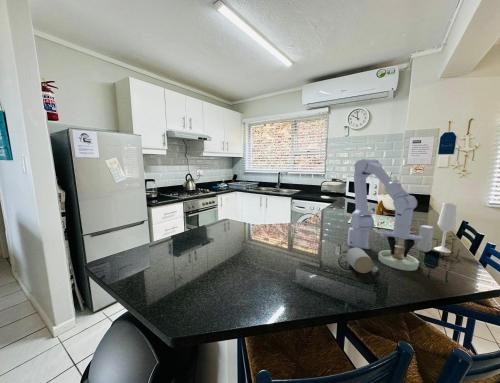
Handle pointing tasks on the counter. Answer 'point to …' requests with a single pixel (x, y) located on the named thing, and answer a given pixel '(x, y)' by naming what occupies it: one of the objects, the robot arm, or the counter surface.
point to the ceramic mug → (360, 260)
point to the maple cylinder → (398, 252)
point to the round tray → (398, 261)
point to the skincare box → (425, 238)
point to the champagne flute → (446, 223)
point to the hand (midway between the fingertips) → (398, 255)
